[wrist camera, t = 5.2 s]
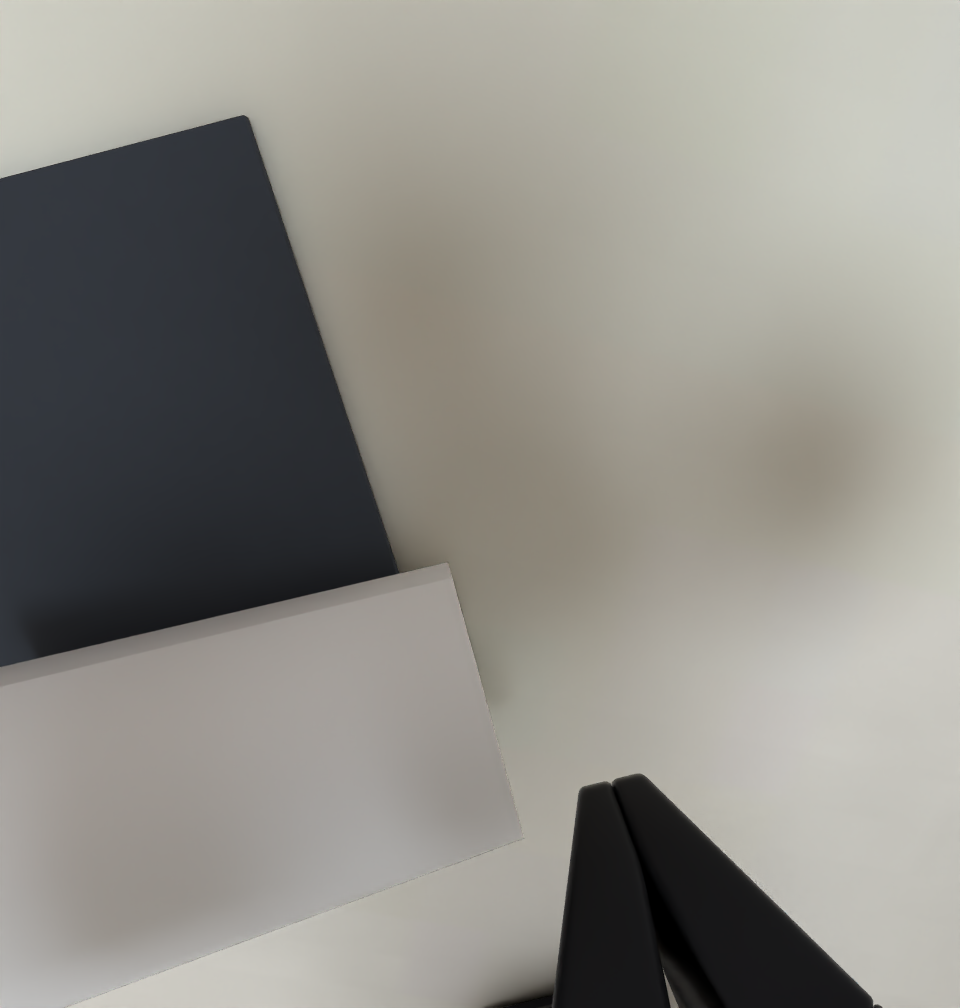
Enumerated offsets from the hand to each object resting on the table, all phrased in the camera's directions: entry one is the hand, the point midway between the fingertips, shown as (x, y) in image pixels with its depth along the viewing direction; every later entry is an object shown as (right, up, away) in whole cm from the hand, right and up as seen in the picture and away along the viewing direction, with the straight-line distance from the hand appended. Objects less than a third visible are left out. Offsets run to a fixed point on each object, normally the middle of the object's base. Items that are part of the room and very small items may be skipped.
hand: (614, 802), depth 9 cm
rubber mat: (-9, +1, +7) cm, 12 cm away
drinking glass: (-1, 0, +6) cm, 6 cm away
